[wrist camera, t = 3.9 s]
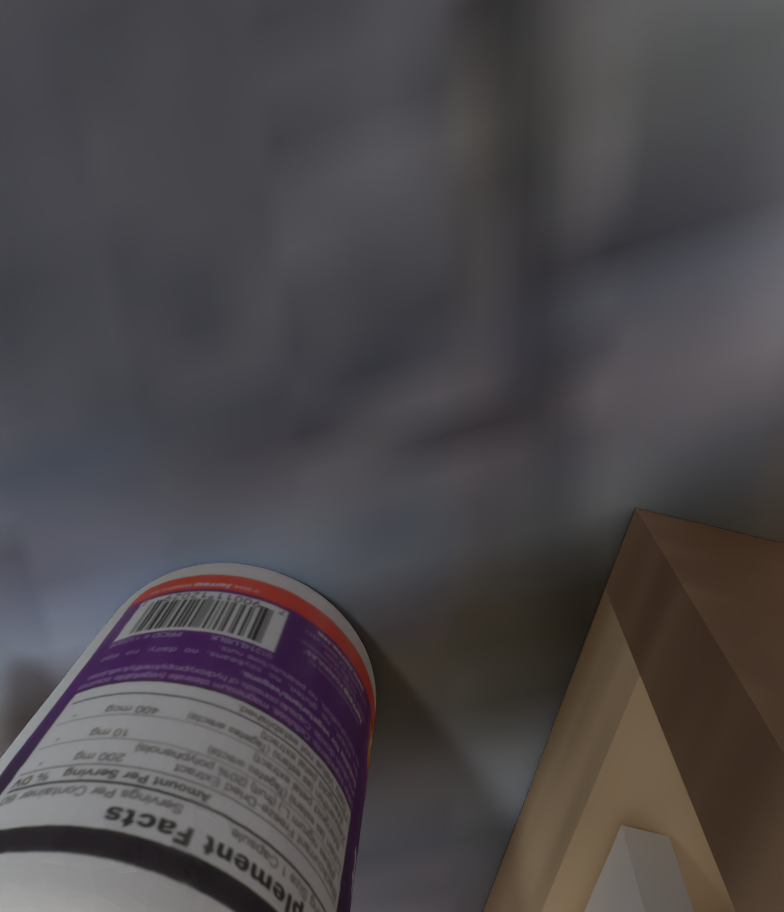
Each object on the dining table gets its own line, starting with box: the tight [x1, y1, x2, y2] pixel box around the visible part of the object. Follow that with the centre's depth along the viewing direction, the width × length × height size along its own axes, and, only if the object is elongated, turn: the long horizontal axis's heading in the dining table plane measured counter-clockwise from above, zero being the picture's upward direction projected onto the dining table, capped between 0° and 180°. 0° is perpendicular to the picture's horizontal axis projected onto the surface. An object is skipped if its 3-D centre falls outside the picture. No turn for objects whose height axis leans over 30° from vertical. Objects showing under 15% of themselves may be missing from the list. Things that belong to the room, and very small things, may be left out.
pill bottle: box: [0, 563, 376, 912], centre depth 10 cm, size 5×5×10 cm
